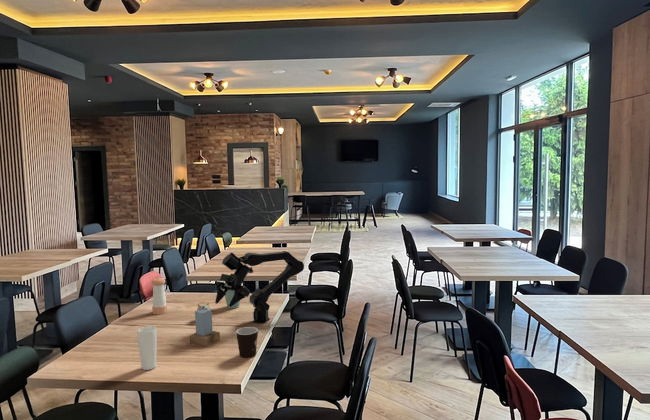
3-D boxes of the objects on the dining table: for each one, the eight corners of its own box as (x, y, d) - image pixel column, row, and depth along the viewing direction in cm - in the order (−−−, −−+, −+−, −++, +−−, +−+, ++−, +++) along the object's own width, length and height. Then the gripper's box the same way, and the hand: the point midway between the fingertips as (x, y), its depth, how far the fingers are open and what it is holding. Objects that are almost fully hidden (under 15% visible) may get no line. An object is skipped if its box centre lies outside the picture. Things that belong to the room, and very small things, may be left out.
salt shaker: (170, 311, 236) (168, 276, 235) (158, 315, 230) (156, 279, 229) (161, 309, 240) (159, 274, 239) (149, 313, 234) (147, 277, 232)
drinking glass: (142, 364, 170) (140, 326, 169) (160, 363, 171) (158, 325, 169) (136, 372, 163) (134, 332, 162) (155, 371, 164) (153, 331, 163)
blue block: (205, 330, 196) (204, 308, 195) (212, 332, 193) (211, 310, 192) (196, 333, 192) (194, 311, 191) (202, 336, 189) (201, 313, 188)
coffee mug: (248, 361, 171) (247, 336, 170) (232, 356, 176) (231, 332, 175) (268, 350, 181) (267, 327, 180) (252, 346, 185) (251, 323, 185)
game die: (206, 328, 220) (206, 316, 214) (191, 321, 221) (190, 309, 215) (215, 314, 227) (216, 302, 220) (201, 308, 228) (201, 296, 222)
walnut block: (204, 337, 198) (203, 329, 198) (220, 340, 194) (219, 332, 194) (189, 344, 190) (189, 335, 190) (205, 348, 186) (205, 339, 186)
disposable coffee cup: (240, 309, 237) (239, 282, 236) (220, 310, 237) (219, 282, 236) (244, 303, 247) (243, 277, 246) (225, 304, 248) (224, 277, 246)
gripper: (216, 264, 210) (198, 292, 202) (244, 268, 200) (226, 298, 192) (229, 277, 217) (213, 305, 210) (257, 281, 207) (240, 311, 199)
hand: (222, 304), depth 202 cm, fingers open, 9 cm apart
